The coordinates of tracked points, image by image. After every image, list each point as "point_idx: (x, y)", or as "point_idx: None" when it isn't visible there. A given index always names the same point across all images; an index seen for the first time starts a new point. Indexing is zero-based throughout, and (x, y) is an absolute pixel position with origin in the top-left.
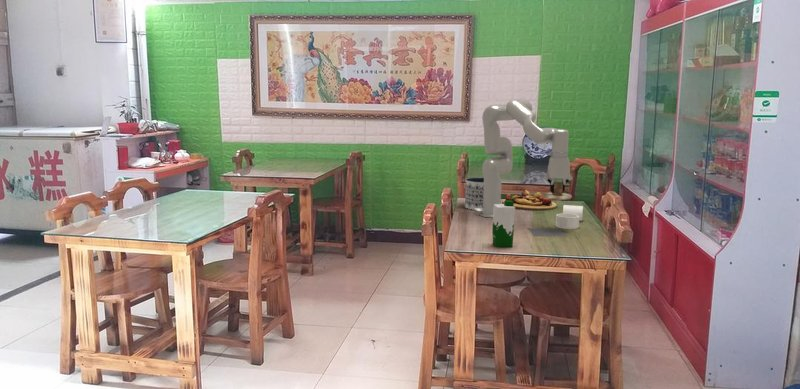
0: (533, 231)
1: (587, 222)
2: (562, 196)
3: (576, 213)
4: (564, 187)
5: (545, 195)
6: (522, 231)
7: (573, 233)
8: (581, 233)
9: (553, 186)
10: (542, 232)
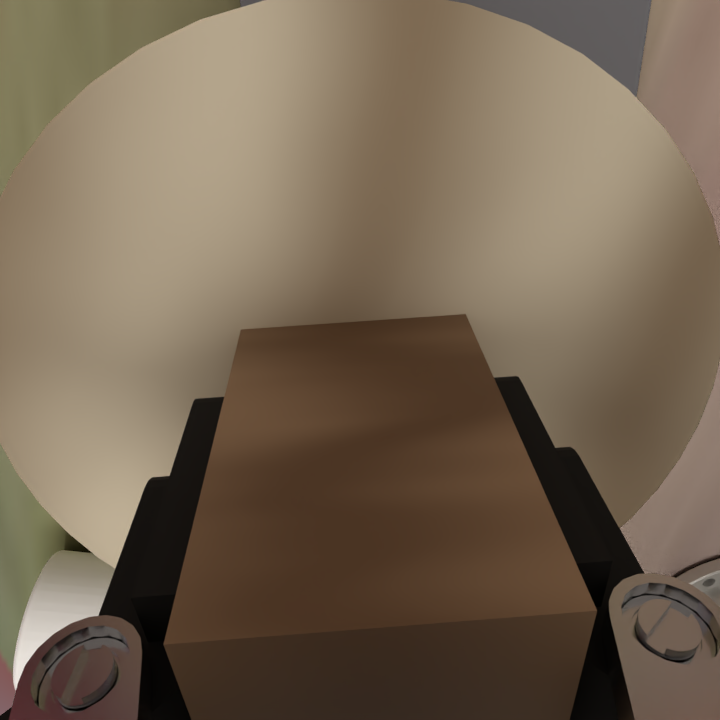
0: (609, 48)
1: (17, 531)
2: (239, 220)
3: (89, 591)
4: (130, 560)
5: (688, 295)
6: (714, 82)
7: (135, 51)
8: (39, 65)
9: (563, 514)
10: (516, 3)
